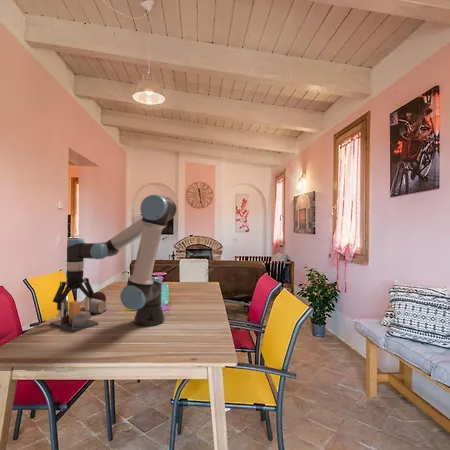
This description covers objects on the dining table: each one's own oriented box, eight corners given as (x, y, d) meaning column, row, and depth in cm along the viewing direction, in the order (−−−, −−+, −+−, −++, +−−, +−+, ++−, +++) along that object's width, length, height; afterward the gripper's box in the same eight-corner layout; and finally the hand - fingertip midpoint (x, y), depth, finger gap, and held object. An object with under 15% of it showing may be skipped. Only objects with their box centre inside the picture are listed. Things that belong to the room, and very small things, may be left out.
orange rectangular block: (75, 320, 152) (75, 300, 152) (79, 322, 150) (79, 301, 150) (68, 322, 149) (69, 302, 149) (73, 323, 147) (73, 303, 147)
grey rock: (94, 323, 148) (95, 311, 148) (79, 328, 141) (80, 315, 141) (87, 321, 151) (87, 309, 151) (72, 326, 144) (72, 313, 144)
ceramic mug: (97, 315, 165) (97, 301, 166) (85, 313, 168) (85, 299, 168) (110, 310, 175) (110, 297, 176) (99, 309, 178) (99, 296, 178)
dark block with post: (98, 324, 150) (98, 298, 150) (73, 332, 139) (73, 303, 139) (74, 318, 160) (75, 293, 160) (49, 324, 149) (50, 298, 149)
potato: (86, 310, 175) (87, 294, 176) (94, 304, 187) (94, 289, 187) (102, 310, 176) (102, 294, 176) (108, 304, 188) (108, 289, 188)
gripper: (92, 266, 162) (91, 306, 162) (45, 272, 141) (44, 318, 141) (101, 267, 158) (101, 308, 158) (54, 273, 137) (53, 321, 137)
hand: (74, 313), depth 149 cm, fingers open, 13 cm apart
